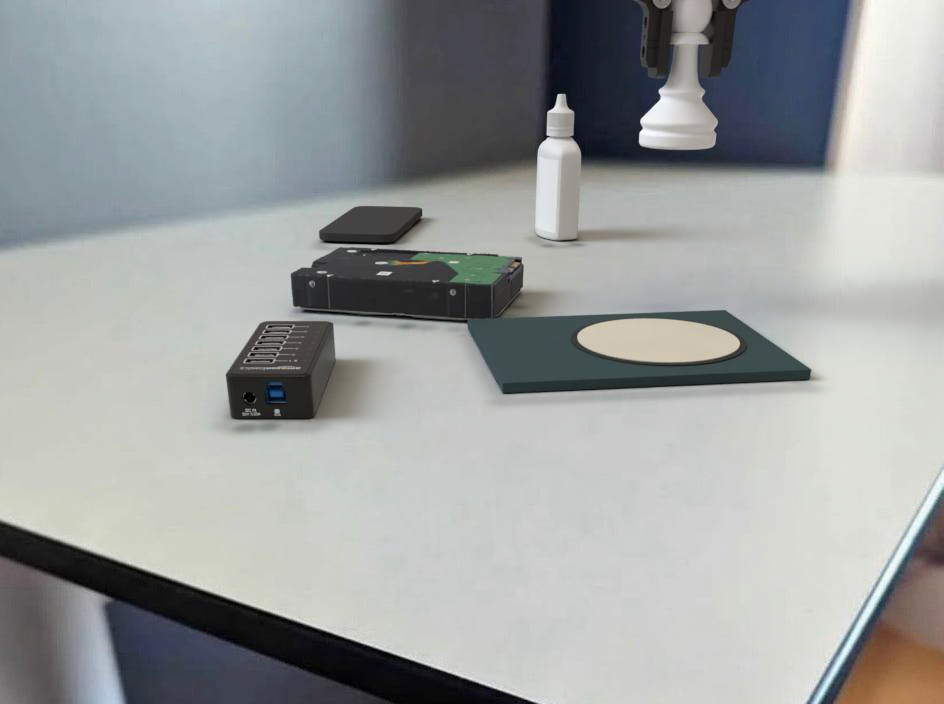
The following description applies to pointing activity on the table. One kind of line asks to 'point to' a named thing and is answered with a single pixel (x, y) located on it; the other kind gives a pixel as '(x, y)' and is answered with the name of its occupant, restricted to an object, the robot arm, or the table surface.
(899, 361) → the table surface
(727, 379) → the drawing mat
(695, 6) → the chess pawn
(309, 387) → the multiport hub
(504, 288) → the disk drive
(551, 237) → the eye dropper bottle
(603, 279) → the table surface
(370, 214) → the phone
